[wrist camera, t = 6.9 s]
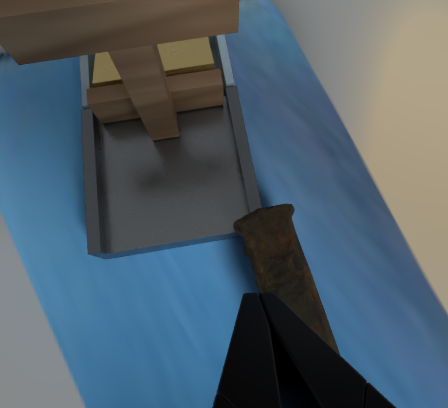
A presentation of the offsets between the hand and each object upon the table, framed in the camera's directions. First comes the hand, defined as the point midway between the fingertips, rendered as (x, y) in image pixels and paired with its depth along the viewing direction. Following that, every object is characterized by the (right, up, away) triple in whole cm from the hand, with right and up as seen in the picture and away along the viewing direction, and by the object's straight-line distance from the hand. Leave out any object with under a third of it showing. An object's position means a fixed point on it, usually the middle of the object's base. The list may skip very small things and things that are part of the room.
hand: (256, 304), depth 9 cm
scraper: (-5, +9, +14) cm, 18 cm away
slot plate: (-5, +5, +15) cm, 17 cm away
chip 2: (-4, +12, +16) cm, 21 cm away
